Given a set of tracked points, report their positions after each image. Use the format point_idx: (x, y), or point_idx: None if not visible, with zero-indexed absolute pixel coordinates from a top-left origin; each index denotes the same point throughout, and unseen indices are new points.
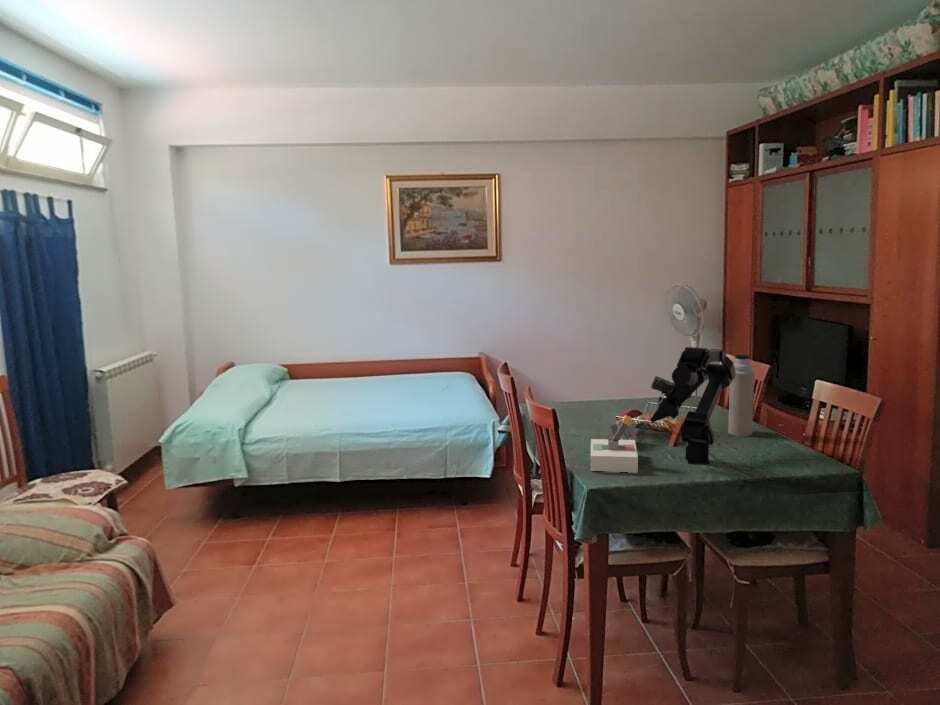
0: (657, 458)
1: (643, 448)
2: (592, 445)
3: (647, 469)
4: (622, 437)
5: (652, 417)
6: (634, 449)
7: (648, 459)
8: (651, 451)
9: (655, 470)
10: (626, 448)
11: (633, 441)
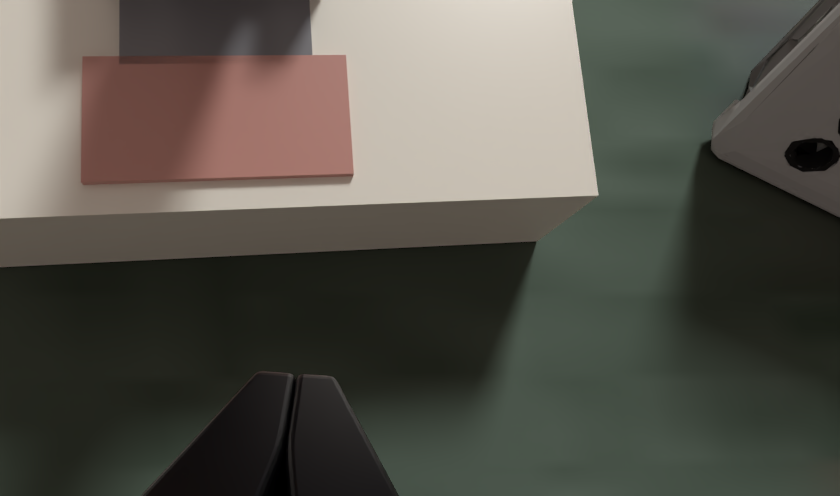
0: (454, 484)
1: (765, 331)
2: None
3: (42, 377)
4: (778, 75)
5: (191, 446)
6: (154, 186)
7: (403, 385)
8: (685, 415)
9: (9, 467)
10: (161, 82)
11: (525, 179)
